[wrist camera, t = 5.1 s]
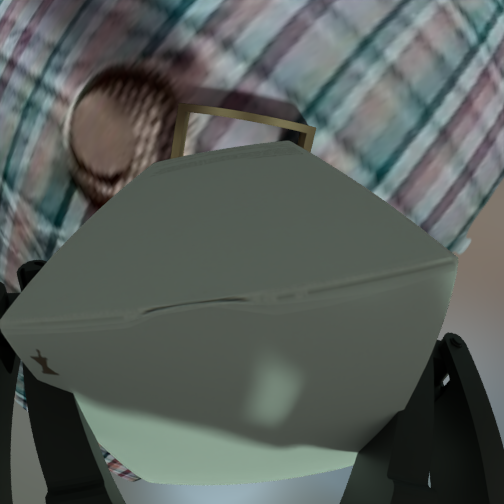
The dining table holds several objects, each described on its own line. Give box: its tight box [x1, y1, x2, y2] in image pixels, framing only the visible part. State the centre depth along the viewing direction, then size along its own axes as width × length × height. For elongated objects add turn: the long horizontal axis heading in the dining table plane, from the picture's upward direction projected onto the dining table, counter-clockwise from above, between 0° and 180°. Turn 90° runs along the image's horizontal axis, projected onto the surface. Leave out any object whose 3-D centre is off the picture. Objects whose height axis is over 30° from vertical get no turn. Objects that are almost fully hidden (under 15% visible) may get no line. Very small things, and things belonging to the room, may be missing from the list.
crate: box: [171, 103, 316, 159], centre depth 30 cm, size 14×14×3 cm
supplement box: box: [0, 141, 458, 485], centre depth 12 cm, size 9×9×15 cm
